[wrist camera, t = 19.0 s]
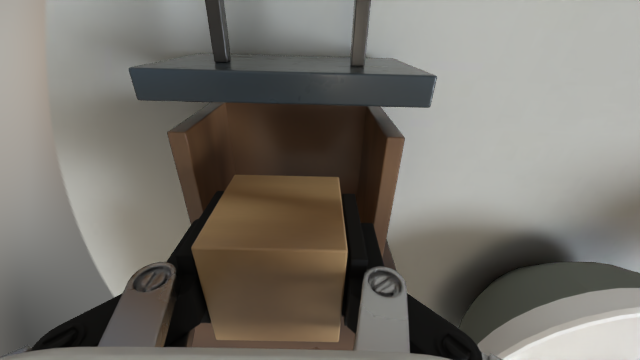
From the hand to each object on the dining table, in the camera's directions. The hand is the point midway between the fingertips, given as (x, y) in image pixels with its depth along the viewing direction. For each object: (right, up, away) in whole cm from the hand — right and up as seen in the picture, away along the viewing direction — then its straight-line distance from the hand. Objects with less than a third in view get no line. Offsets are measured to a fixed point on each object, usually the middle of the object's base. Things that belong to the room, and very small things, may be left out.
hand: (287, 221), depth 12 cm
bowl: (+22, -10, +15) cm, 29 cm away
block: (0, 0, 0) cm, 0 cm away
